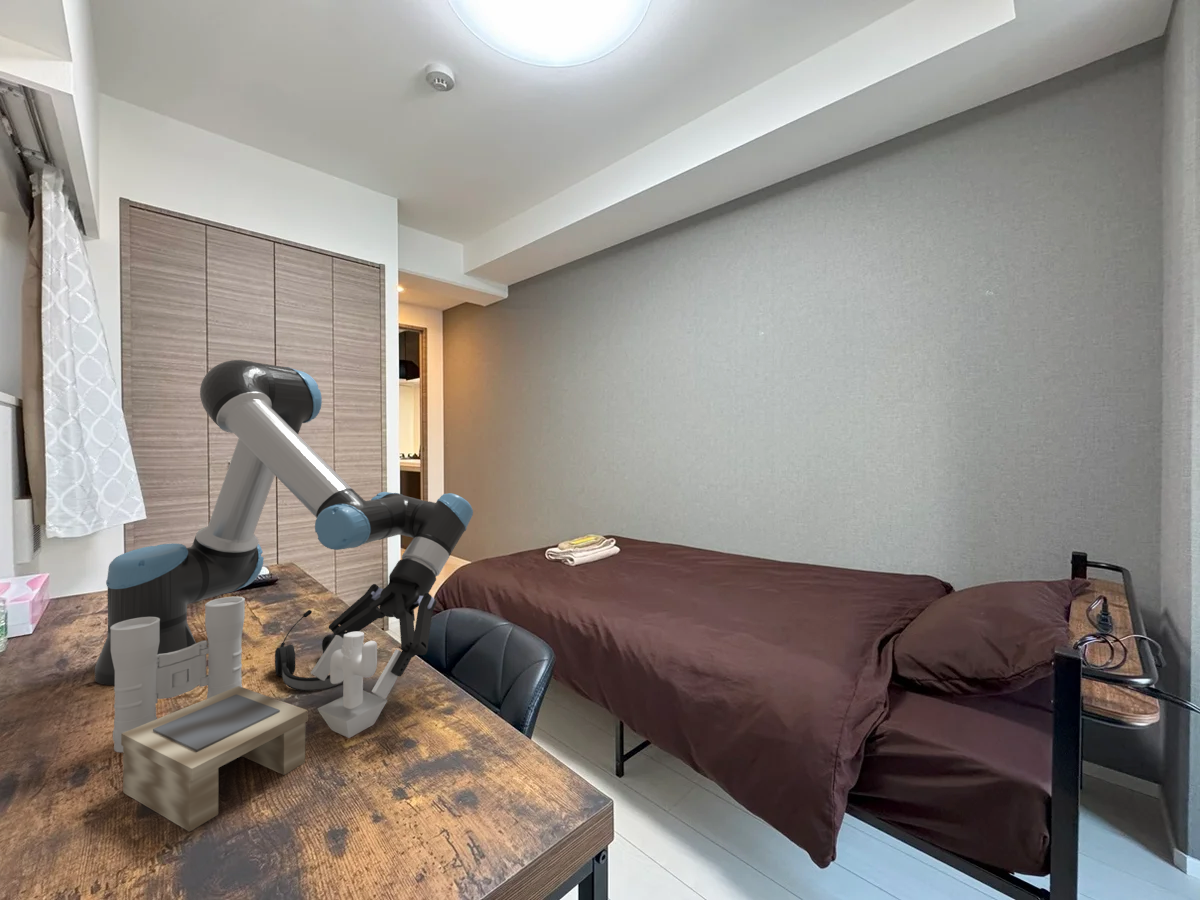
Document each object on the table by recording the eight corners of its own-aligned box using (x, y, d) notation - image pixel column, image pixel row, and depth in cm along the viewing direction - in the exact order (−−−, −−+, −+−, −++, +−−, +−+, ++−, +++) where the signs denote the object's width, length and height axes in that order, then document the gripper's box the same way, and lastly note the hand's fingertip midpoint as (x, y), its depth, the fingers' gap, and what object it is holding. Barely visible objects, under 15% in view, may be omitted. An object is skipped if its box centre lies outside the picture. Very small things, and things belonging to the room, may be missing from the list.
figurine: (354, 708, 85) (355, 620, 84) (392, 724, 80) (392, 631, 80) (312, 729, 78) (313, 634, 78) (350, 748, 74) (351, 647, 74)
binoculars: (234, 695, 89) (234, 594, 88) (251, 703, 86) (251, 599, 86) (103, 747, 73) (103, 625, 73) (119, 758, 71) (119, 632, 71)
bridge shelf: (121, 791, 64) (121, 731, 64) (238, 734, 77) (238, 684, 77) (191, 833, 57) (192, 766, 57) (307, 763, 70) (307, 708, 70)
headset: (335, 603, 109) (372, 637, 96) (333, 644, 110) (369, 683, 97) (266, 618, 100) (296, 658, 87) (264, 662, 101) (294, 708, 88)
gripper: (483, 587, 89) (420, 713, 75) (380, 571, 99) (309, 679, 85) (463, 564, 84) (392, 694, 70) (358, 550, 94) (278, 660, 80)
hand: (346, 686), depth 78 cm, fingers open, 13 cm apart
